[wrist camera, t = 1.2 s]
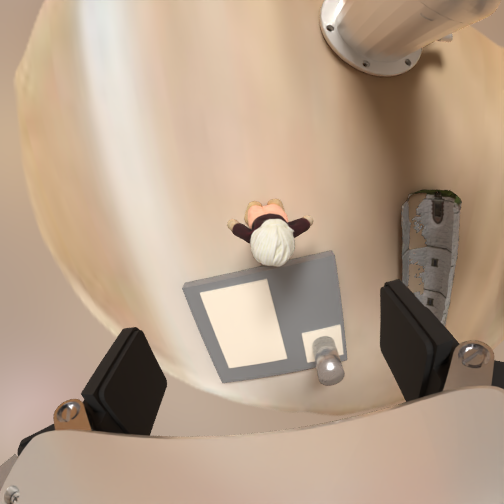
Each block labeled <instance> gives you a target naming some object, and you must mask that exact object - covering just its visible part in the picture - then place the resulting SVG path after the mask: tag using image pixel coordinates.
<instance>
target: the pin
mask: <svg viewBox="0 0 504 504" xmlns="http://www.w3.org/2000/svg"><path fill="white" fill-rule="evenodd" d="M312 349H313V353H314V358H315V363H316V368H317V373H318V378H319V381H320V383H322V384H323V385H334V384H337V383H339V382H340V381H341V380H342V379H343V377H344V370H343V367H342V364H341V360H340V357H339V354H338V351H337V348H336V345H335V341H334V339H333V338H331V337H329V336H322V337H319V338H317V339H316V340H315V341H314V342H313V345H312Z"/></svg>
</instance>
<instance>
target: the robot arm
mask: <svg viewBox="0 0 504 504" xmlns="http://www.w3.org/2000/svg"><path fill="white" fill-rule="evenodd" d="M500 3H501V0H325V1H324V2H323V4H322V7H321V9H320V15H319V20H320V27H321V30H322V34H323V36H324V38H325V39H326V41H327V43H328V44H329V46H330V47H331V48H332V50H333V51H334V52H335V53H336V54H337V55H338V56H339V57H340V58H341V59H342V60H344V61H345V62H346V63H348V64H349V65H351V66H352V67H354V68H356V69H358V70H360V71H362V72H365V73H368V74H371V75H376V76H385V77H390V76H396V75H399V74H402V73H404V72H406V71H408V70H410V69H411V68H412V67H413V66H414V65H415V64H416V63H417V61H418V60H419V58H420V55H421V52H422V48H423V47H425V46H427V45H429V44H431V43H433V42H435V41H442V42H451V41H452V33H453V32H456V31H458V30H460V29H462V28H464V27H467V26H469V25H471V24H473V23H476V22H478V21H480V20H482V19H485V18H486V17H488V16H490V15H491V14H493V13H494V12H495V11H496V10H497V8H498V6H499V5H500ZM327 29H329V30H330V31H331V32H330V31H328V30H327ZM405 63H406V64H405ZM363 64H365V67H364V66H363ZM380 297H381V328H380V347H381V351H382V354H383V356H384V358H385V360H386V361H387V363H388V365H389V367H390V369H391V371H392V373H393V375H394V377H395V379H396V381H397V383H398V386H399V388H400V390H401V392H402V394H403V396H404V398H405V400H406V402H405V403H402V404H398V405H395V406H392V407H388V408H385V409H381V410H378V411H374V412H370V413H366V414H362V415H358V416H354V417H350V418H345V419H341V420H336V421H332V422H327V423H322V424H317V425H311V426H305V427H299V428H293V429H285V430H279V431H270V432H262V433H251V434H240V435H224V436H195V437H193V436H192V437H177V436H150V433H151V430H152V427H153V424H154V421H155V419H156V416H157V413H158V410H159V407H160V404H161V401H162V398H163V396H164V392H165V390H166V387H167V380H166V378H165V376H164V374H163V372H162V370H161V368H160V366H159V364H158V362H157V360H156V358H155V356H154V354H153V352H152V350H151V348H150V346H149V344H148V341H147V339H146V337H145V335H144V333H143V331H141V330H139V329H138V328H137V327H133V328H125V329H123V330H122V331H121V333H120V334H119V336H118V337H117V339H116V340H115V342H114V343H113V345H112V346H111V348H110V349H109V351H108V352H107V354H106V355H105V357H104V358H103V360H102V361H101V363H100V364H99V366H98V367H97V369H96V371H95V372H94V374H93V375H92V377H91V378H90V380H89V382H88V383H87V385H86V387H85V388H84V390H83V391H82V393H81V395H82V396H83V398H84V399H85V400H84V401H83V402H82V401H80V400H79V399H70V400H67V401H65V402H63V403H62V404H60V405H59V406H58V407H57V409H56V410H55V412H54V417H53V419H54V424H52V425H50V426H49V427H47V428H45V429H43V430H41V431H39V432H37V433H35V434H33V435H31V436H29V437H27V438H25V439H23V440H22V441H21V443H20V445H19V448H18V456H16V454H14V455H13V456H12V457H11V458H10V459H8V460H7V461H6V462H5V463H4V464H2V465H1V466H0V504H504V362H500V361H495V360H494V353H493V351H492V349H491V348H490V347H489V346H488V345H487V344H485V343H483V342H480V341H472V340H470V341H466V342H463V343H461V344H459V343H458V342H457V341H456V339H455V338H454V337H453V336H452V335H451V333H450V332H449V331H448V330H447V329H446V328H445V326H444V325H443V324H442V323H441V322H440V321H439V319H438V318H437V317H436V316H435V315H434V314H433V313H432V312H431V310H430V309H429V308H427V307H425V306H424V305H423V304H422V303H421V302H420V301H419V299H418V298H417V297H416V296H415V295H414V294H413V293H412V292H411V291H410V290H409V289H408V288H407V286H406V285H405V284H404V283H403V282H402V281H401V280H400V279H398V280H394V281H390V282H386V283H385V285H384V287H382V288H381V290H380Z"/></svg>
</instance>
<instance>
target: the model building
mask: <svg viewBox="0 0 504 504" xmlns="http://www.w3.org/2000/svg"><path fill="white" fill-rule="evenodd" d="M436 191H438V193H437V194H436ZM416 193H427V195H426V199H424V200H423V201H422V202H421V203H420V204H419V206H418V207H419V208H417V209H416V215H421V216H420V217H416V216H415V217H414V218H413V219H412V221H413V220H416V221H417V222H416V221H415V223H414V224H415V225H416V226H415V227H413V228H414V229H415V230H416V231H417V232H416V233H418V232H419V231H420V229H422V227H423V226H422V225H421V226H420V225H419V223H421V224H423V225H424V228H423V231H422V236H424V239H427V240H426V242H425V244H427V247H423V248H416V249H412V250H409V242H410V241H409V239H410V235H409V233H410V225H411V223H410V222H409V207H408V200H409V197H410V196H411V195H412V194H414V193H412V194H409V196H408V200H407V201H406V202H405V203H404V204H403V205H402V211H401V215H402V218H401V220H402V221H401V227H402V235H403V237H402V242H403V244H402V260H403V261H402V264H403V268H402V269H403V271H402V282H403V283H404V284H405V285H406V286H408V280H409V275H408V274H409V264H414V263H415V262H417V261H418V263H417V264H416V265H420V266H423V269H425V270H424V272H423V273H419V274H420V276H419V277H416V275H417V274H416V275H415V276H414V277H416V278H420V277H422V282H424V293H423V294H422V295H420V292H415V293H414V294H415V295H416V297H417V298H418V299H419V301H420V302H421V303H422V304H423V305H424V306H425V307H427V308H429V309H430V310H431V312H432V313H433V314H434V315H435V316H436V317H437V318H438V319H439V321H440V322H441V323H442V324H443V325H444V326H445V324H446V319H447V314H448V308H449V305H450V296H451V290H452V285H453V279H454V270H455V266H456V260H457V255H458V251H457V249H458V241H459V221H460V209H461V203H462V201H461V199H460V198H459V197H458V196H457V195H456V194H454V193H453V192H452V191H450V190H449V191H448V190H420V191H417V192H415V194H416ZM419 221H421V222H419ZM418 222H419V223H418ZM417 223H418V224H417ZM419 226H420V227H419ZM418 227H419V228H420V229H419V228H418ZM414 253H415V254H414ZM410 259H412V261H409V260H410ZM424 266H425V267H424ZM418 270H420V268H419V269H418ZM420 284H421V283H420ZM420 284H419V285H420Z"/></svg>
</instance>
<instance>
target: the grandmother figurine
mask: <svg viewBox="0 0 504 504" xmlns="http://www.w3.org/2000/svg"><path fill="white" fill-rule="evenodd" d="M244 219H245V222H246V223H247V224H248V225H249V228H248V227H246V226H245V225H243V224H241V223H239V222H238V221H237V220H235V219H231V220H229V221H228V224H227V226H228V228H229V229H230V230H231V231H232V232H233V234H234V235H236V236H237V237H239V238H241V239H243V240H245V241H246V242H248V243H250V245H251V252H252V254H253V256H254V258H255V259H256V261H257V262H259V263H261V264H262V265H267V266H282V265H284V264H285V263H286V262H287V261H288V260H289V259H290V257H291V256H292V254H293V252H294V249H295V240H294V238H295V237H297V236H299V235H300V234H302V233H303V232H305V231H307V230H308V229H309V228H310V226H311V225H312V224H313V219H312V217H311V216H308V215H307V216H304V217H303V218H300V219H297V220H294V221H292V222H288V218H287V215H286V213H285V211H284V208H283V205H282V202H281V201H280V200H279V199H272V200H270V201H269V202H268V204H267V206H263V207H262V205H261V203H259V202H256V201H253V202H250V203H249V205H248V207H247V210H246V213H245V217H244Z"/></svg>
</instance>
